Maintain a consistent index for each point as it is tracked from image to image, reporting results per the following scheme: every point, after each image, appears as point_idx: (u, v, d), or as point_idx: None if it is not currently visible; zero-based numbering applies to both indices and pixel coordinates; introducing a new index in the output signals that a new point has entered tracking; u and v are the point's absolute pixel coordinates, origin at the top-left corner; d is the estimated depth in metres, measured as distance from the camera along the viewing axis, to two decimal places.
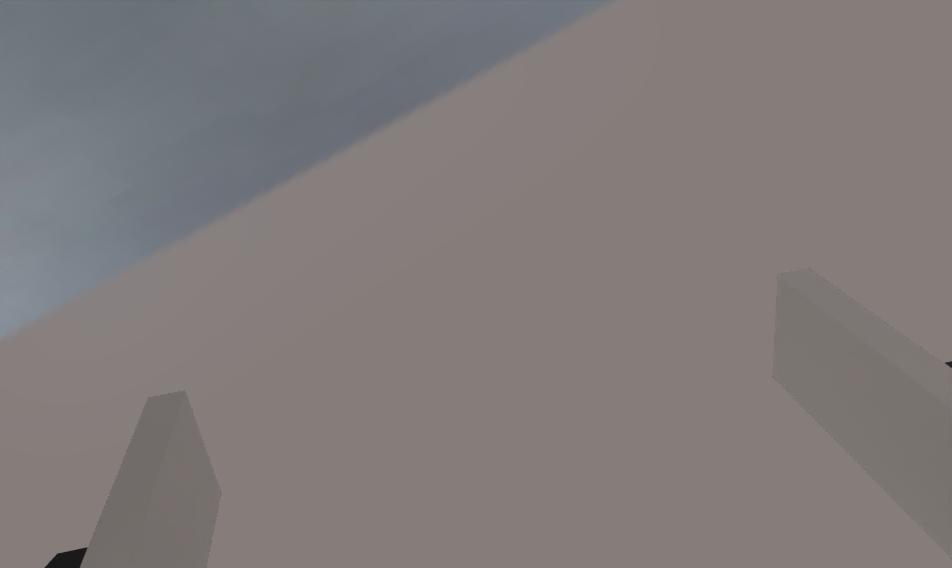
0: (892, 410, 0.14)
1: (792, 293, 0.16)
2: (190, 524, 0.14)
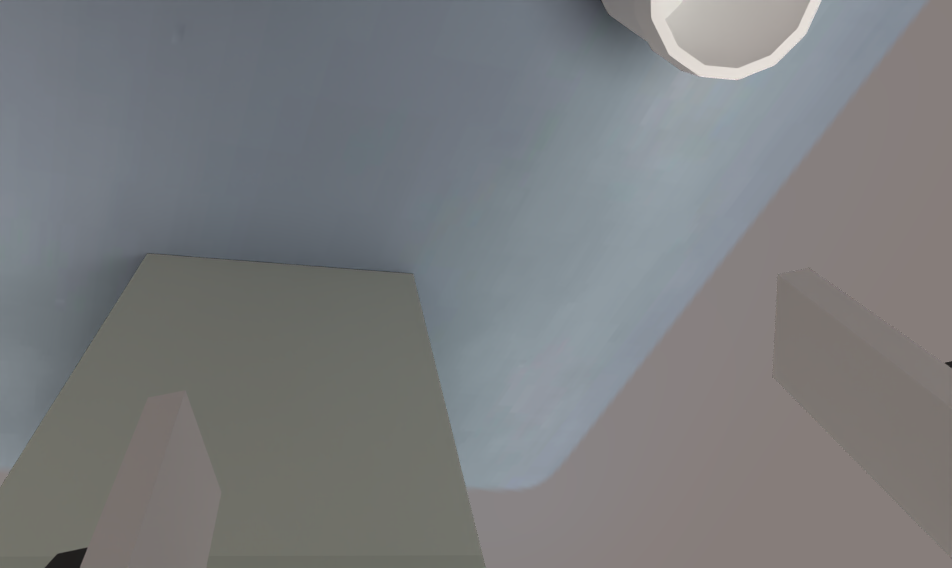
0: (893, 410, 0.14)
1: (792, 293, 0.16)
2: (190, 524, 0.14)
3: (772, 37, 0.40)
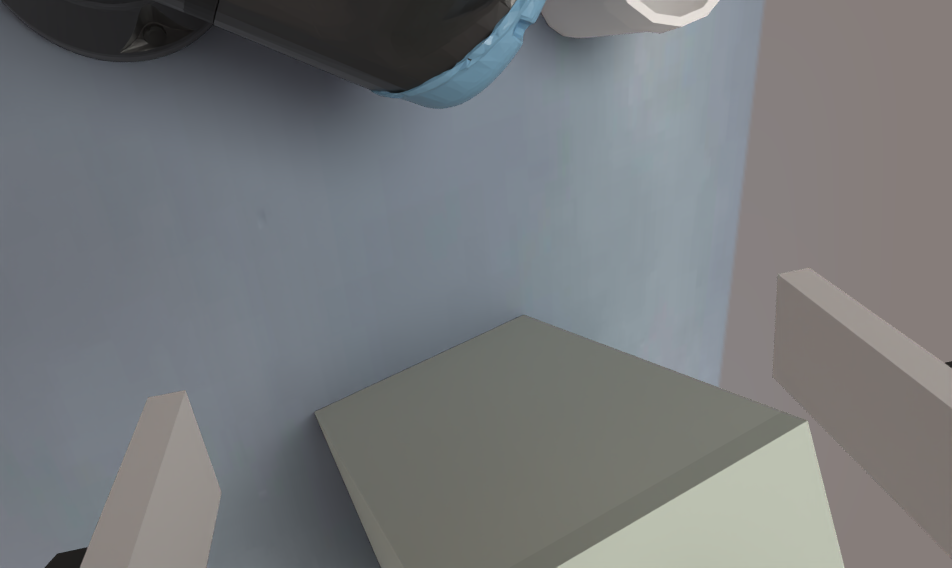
0: (892, 410, 0.14)
1: (792, 293, 0.16)
2: (190, 524, 0.14)
3: None
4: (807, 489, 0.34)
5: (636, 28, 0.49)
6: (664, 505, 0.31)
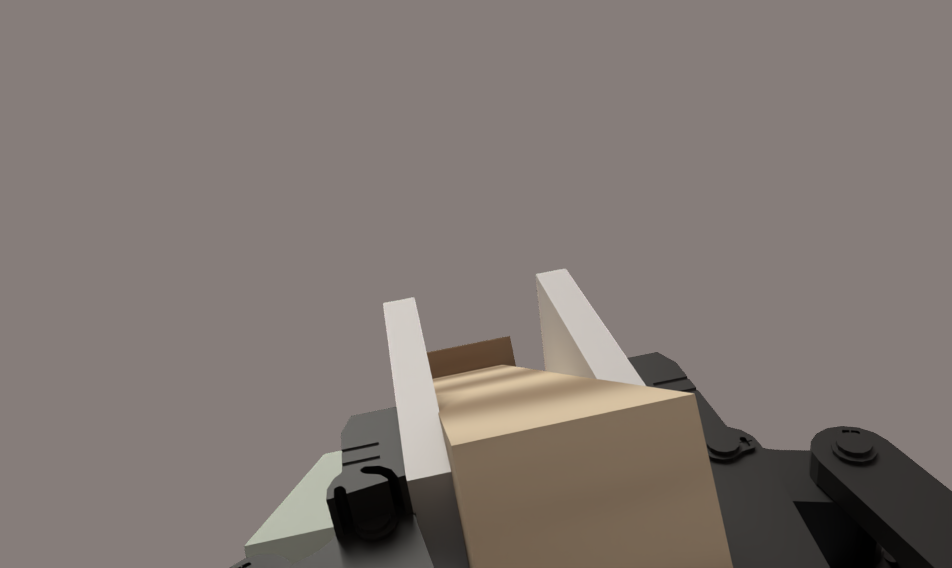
0: None
1: (542, 292, 0.18)
2: None
3: None
4: None
5: None
6: (302, 480, 0.30)
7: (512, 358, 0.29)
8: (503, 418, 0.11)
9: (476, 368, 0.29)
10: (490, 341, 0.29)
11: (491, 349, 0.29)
